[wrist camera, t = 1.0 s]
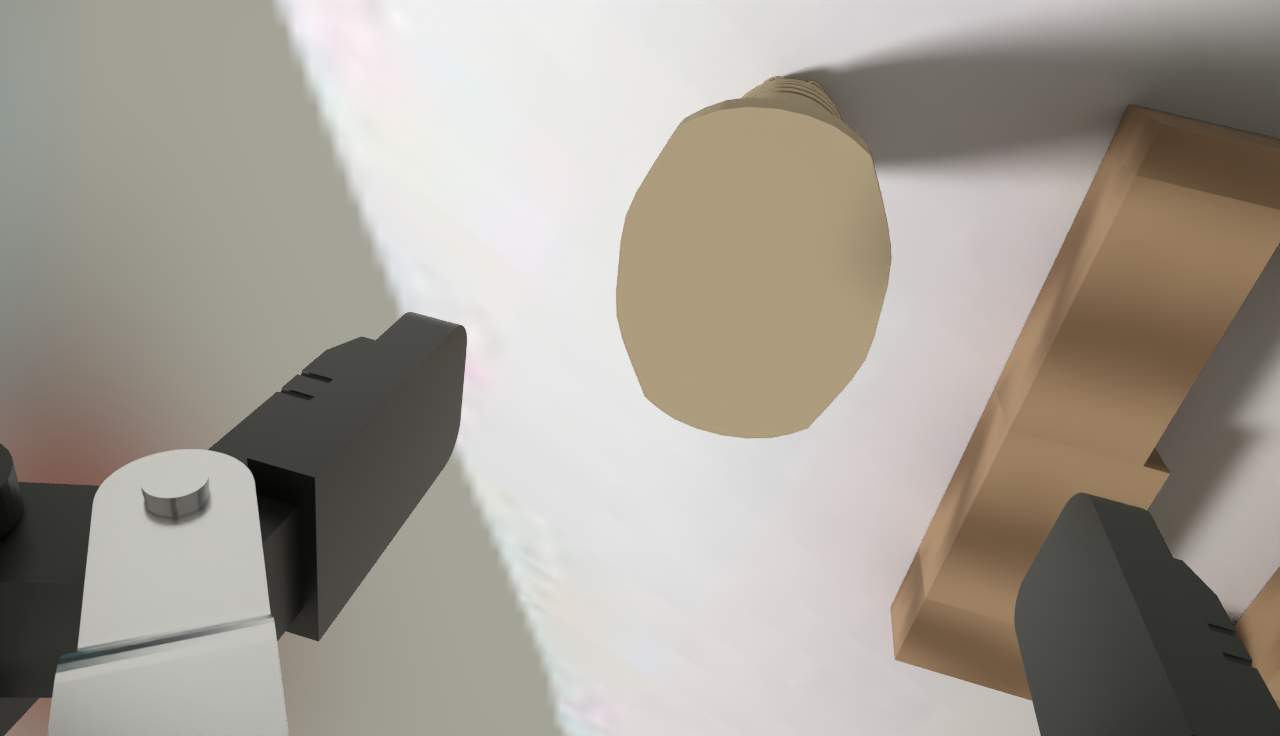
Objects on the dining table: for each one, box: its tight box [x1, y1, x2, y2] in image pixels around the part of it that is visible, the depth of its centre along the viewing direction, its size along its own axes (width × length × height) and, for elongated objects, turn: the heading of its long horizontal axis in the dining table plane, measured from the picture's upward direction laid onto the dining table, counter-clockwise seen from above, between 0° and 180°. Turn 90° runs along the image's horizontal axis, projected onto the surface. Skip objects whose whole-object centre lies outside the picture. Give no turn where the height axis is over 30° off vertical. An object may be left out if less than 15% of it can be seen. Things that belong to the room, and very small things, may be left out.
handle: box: [616, 76, 891, 438], centre depth 22 cm, size 5×6×15 cm
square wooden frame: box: [891, 104, 1280, 709], centre depth 29 cm, size 22×18×3 cm
